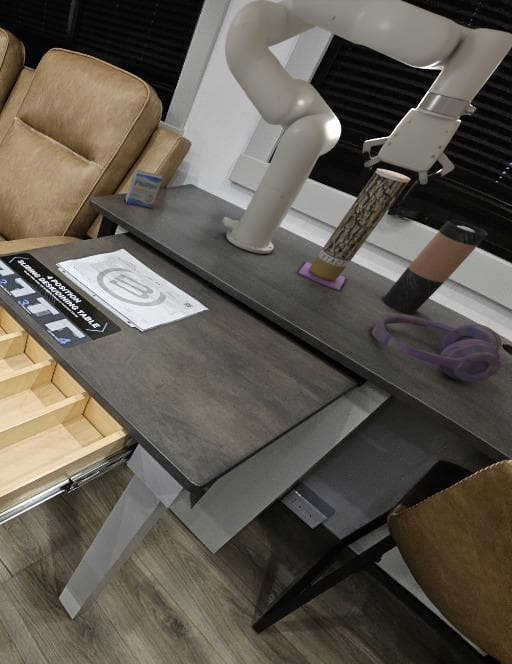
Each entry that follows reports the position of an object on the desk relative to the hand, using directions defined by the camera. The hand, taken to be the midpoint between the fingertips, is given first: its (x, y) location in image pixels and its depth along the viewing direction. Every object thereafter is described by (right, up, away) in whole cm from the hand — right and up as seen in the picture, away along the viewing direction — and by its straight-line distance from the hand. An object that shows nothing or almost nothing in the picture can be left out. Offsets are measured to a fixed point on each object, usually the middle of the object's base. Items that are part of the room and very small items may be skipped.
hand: (380, 192), depth 102 cm
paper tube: (-3, -15, +14) cm, 21 cm away
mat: (-3, -16, +14) cm, 21 cm away
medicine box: (-45, +11, +34) cm, 57 cm away
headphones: (+2, -37, -8) cm, 38 cm away
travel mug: (+12, -24, +9) cm, 28 cm away
